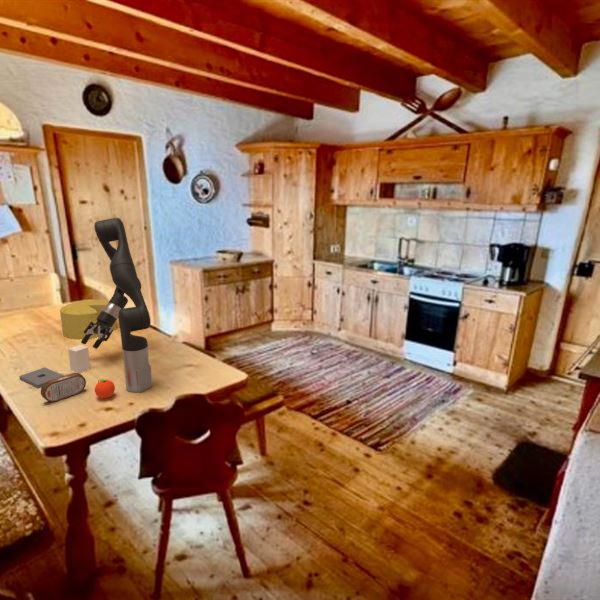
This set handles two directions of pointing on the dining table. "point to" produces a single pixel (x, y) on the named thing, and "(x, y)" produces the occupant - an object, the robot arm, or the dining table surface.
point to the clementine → (104, 388)
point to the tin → (63, 387)
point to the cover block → (79, 358)
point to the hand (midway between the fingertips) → (88, 345)
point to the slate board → (39, 377)
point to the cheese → (81, 317)
